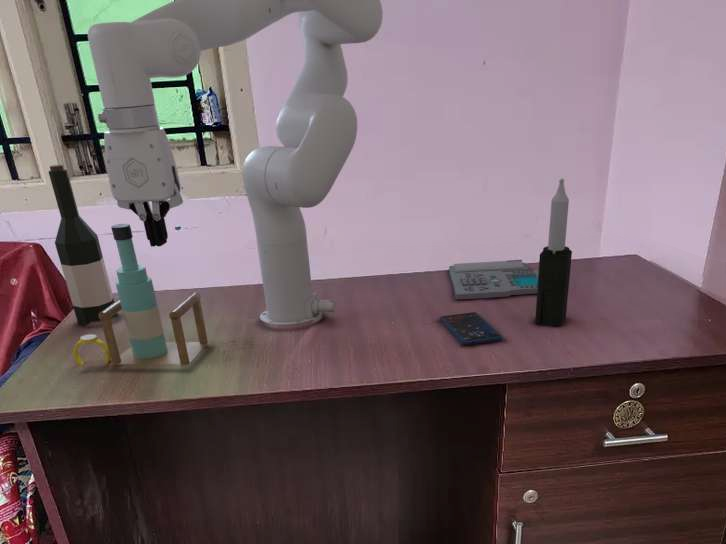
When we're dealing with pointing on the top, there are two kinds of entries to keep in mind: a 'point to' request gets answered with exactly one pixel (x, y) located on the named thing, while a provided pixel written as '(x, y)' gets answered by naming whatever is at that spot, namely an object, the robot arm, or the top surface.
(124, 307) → the bottle
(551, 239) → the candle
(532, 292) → the office telephone
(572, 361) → the top surface
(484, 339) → the smartphone
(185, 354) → the caddy
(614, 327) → the top surface
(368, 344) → the top surface
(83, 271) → the wine bottle
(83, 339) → the watch
